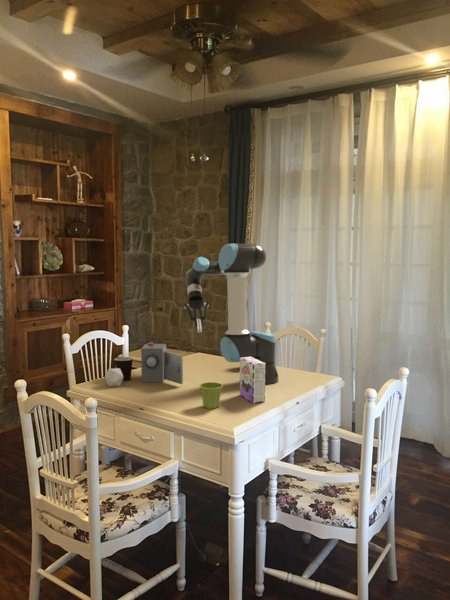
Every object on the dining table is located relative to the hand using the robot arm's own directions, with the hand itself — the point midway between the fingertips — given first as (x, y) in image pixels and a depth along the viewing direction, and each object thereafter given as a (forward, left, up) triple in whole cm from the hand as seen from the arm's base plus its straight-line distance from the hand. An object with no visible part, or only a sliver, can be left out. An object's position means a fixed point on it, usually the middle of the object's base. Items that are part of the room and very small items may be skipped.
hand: (199, 330), depth 253 cm
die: (-7, +44, -22) cm, 50 cm away
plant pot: (-53, +15, -22) cm, 59 cm away
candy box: (-49, -5, -22) cm, 53 cm away
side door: (-15, +19, -20) cm, 31 cm away
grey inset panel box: (-3, +24, -22) cm, 33 cm away
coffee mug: (+5, +37, -22) cm, 43 cm away
